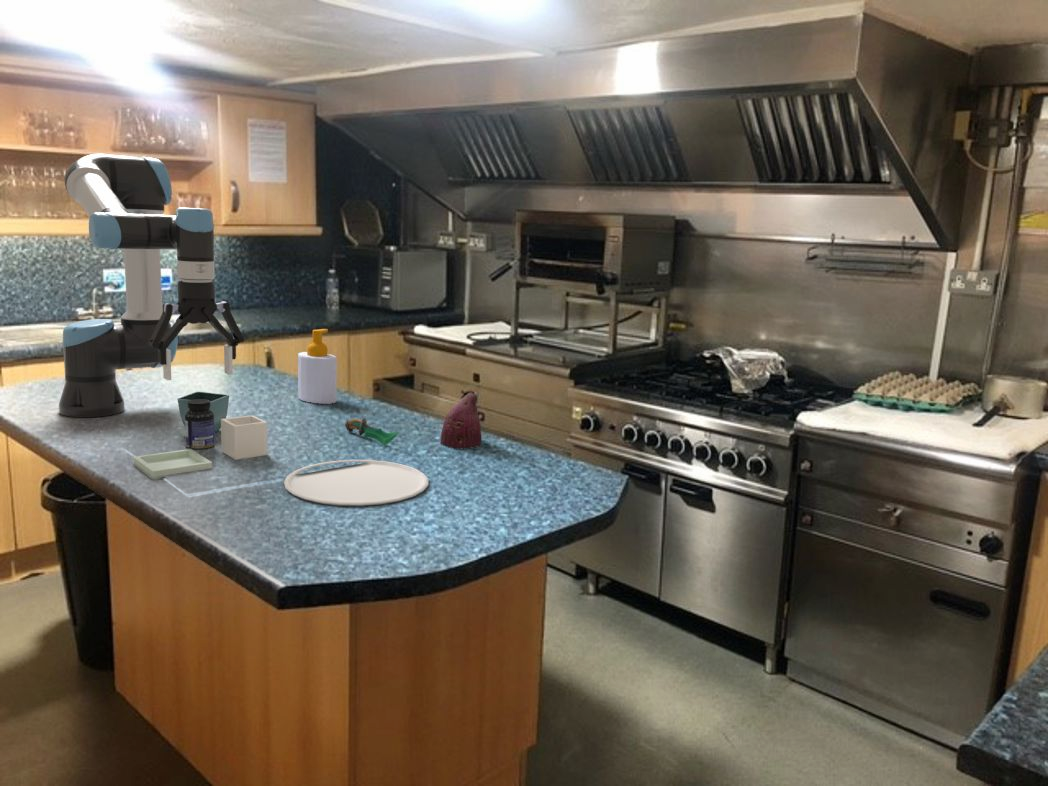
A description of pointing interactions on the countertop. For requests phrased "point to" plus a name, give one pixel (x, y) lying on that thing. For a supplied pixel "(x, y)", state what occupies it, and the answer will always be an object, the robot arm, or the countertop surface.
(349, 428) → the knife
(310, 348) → the soap bottle
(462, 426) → the vegetable
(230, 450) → the open cream box
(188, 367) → the countertop surface
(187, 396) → the flower pot
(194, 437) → the pill bottle
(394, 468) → the plate
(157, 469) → the tray
